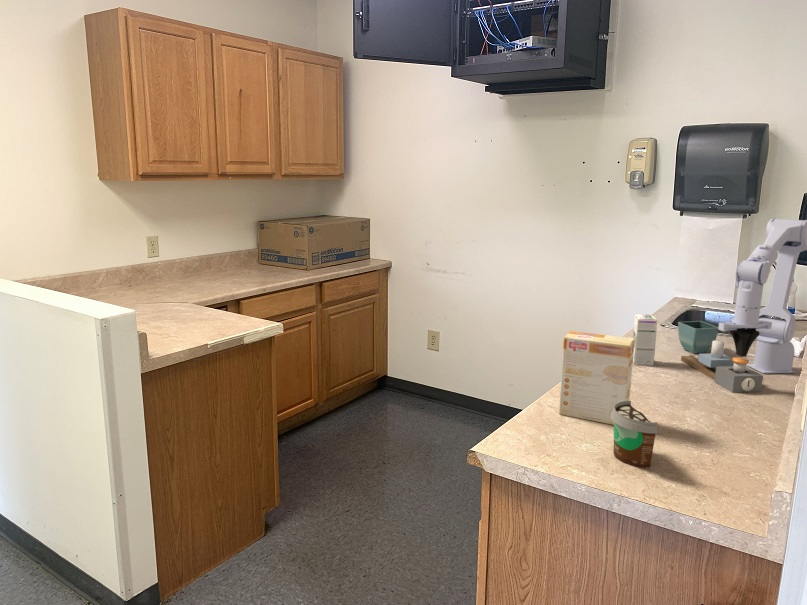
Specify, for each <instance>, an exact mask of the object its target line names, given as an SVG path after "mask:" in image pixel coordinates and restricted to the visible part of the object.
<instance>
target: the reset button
mask: <svg viewBox="0 0 807 605" xmlns="http://www.w3.org/2000/svg"><path fill="white" fill-rule="evenodd" d="M732 359H733V360H732V361H733V362H734V365H733V372H735V373H737V374H739V373H745V372H746V367H747V364H750V363H749V362H750V361H749V359H747V358H744V357H733V358H732Z"/></svg>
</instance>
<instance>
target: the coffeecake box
mask: <svg viewBox="0 0 807 605" xmlns="http://www.w3.org/2000/svg"><path fill="white" fill-rule="evenodd" d="M634 343H635V339H634V338H633V337H624V336H615V335H610V334H609V335H608V334H601V333H594V332H593V333H592V332H585V331H576V330H570V331H569V332H568V333H567V334H565V336H563V342H562V344H563V346H562V347H563V348H562V361H561V378H560V389H559V390H560V391H559V409H558V414H559V415H561V416H567V417H572V418H577V419H583V420H587V421H593V422H599V423H603V424H608V425H613V426H614V422H613V421H612V419H611V413H612V410H613V408H614V406H615V405H616V404H617V403H619V402H622V401H631V400H630V398H631V388H632V387H631V386H632V378H633V367H634V366H633V364H634V363H633V355H634Z"/></svg>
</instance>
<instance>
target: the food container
mask: <svg viewBox="0 0 807 605" xmlns="http://www.w3.org/2000/svg"><path fill="white" fill-rule="evenodd" d="M611 419H612V421H613V422H614V425H613V456H614V457H615V458H616V459H617V460H618V461H619V462H622V463H623V464H626V465H629V466H632V467H636V468H645V469H646V468H647V469H649V468H651V463H652V457H653V451H654V446H655V439H656V435H657V434H658V432H659V431H658V429H659V428H658V422H656V421H654V422H652V421H650V419H648V417H646V416H645V414H644V413H643V412H641V411H640V410H637V409H636V408H635V407H634V406H632V400H629V401H622V402H619V403H617V404H616V405H615V406H614V408H613V410H612V413H611Z"/></svg>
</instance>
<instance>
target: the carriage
mask: <svg viewBox="0 0 807 605" xmlns="http://www.w3.org/2000/svg"><path fill="white" fill-rule="evenodd" d="M724 349H725V341H723V340H717V339H716V340H715V341H712V347H711V349H710V350H711V352H710V353H698V356H699V358H698V361H699V362H701V363H703V364H704V365H706V366H708V367H710V368H716V367H717V366H733V365H734V362H733V361H732V360H733V358H732V357H730V356H728V355H726V354H725V353H724Z"/></svg>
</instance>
